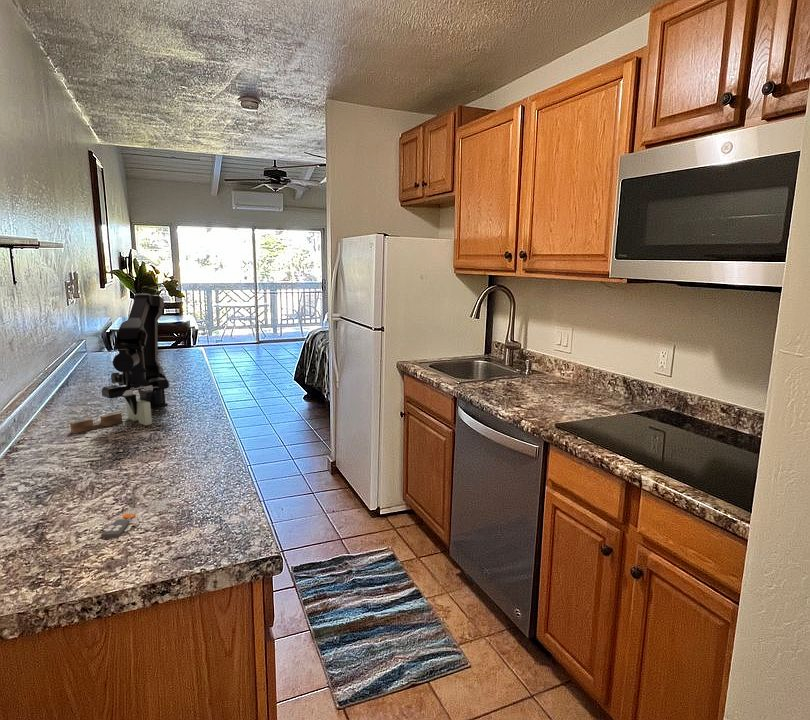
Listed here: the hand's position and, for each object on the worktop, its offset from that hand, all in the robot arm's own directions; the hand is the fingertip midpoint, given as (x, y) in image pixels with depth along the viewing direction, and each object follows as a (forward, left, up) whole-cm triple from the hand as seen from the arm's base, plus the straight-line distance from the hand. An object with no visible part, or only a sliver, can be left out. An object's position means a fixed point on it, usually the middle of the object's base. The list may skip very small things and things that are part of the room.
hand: (138, 413), depth 166 cm
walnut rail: (+11, -4, -2) cm, 12 cm away
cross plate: (0, 0, -2) cm, 2 cm away
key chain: (+33, +63, -3) cm, 71 cm away
